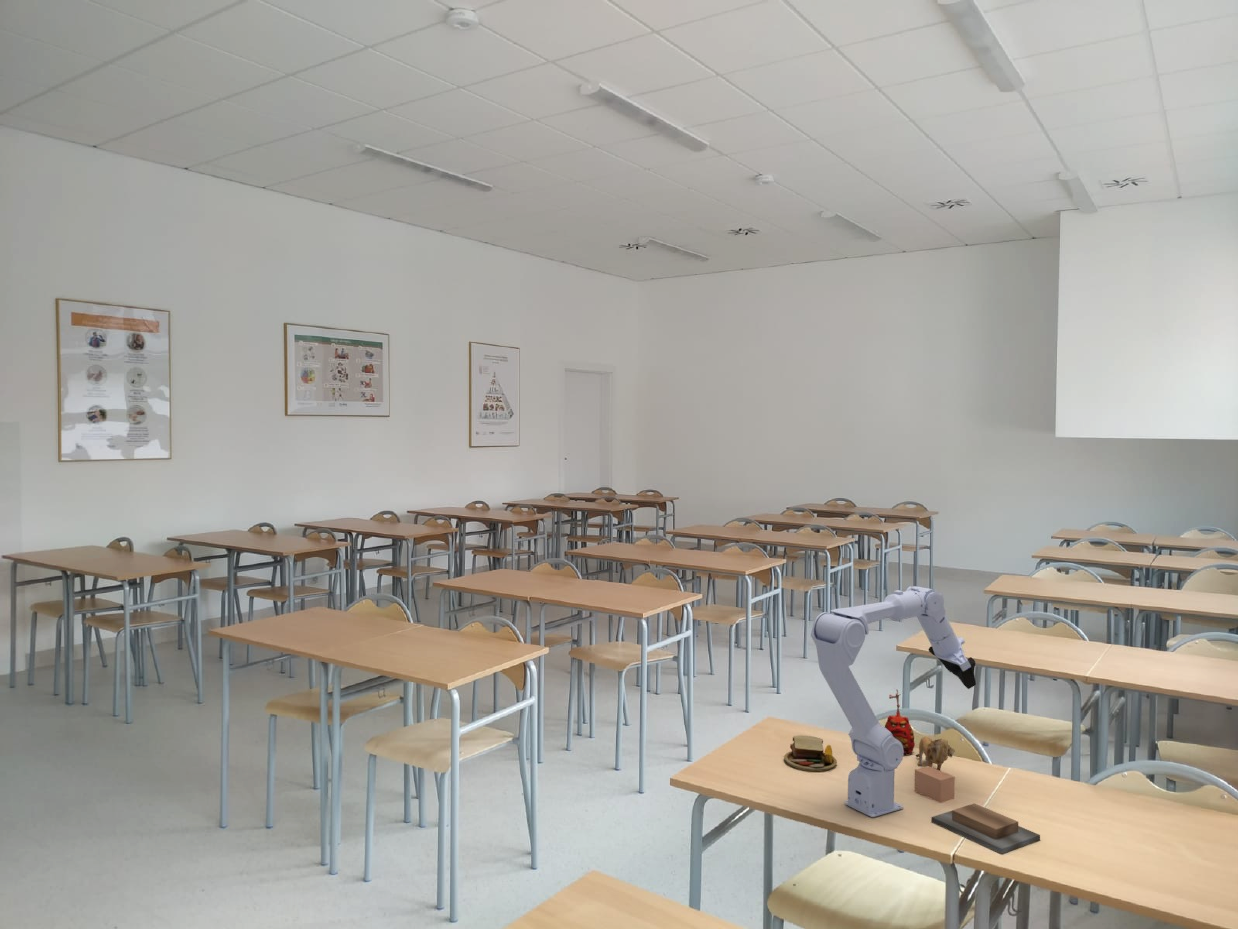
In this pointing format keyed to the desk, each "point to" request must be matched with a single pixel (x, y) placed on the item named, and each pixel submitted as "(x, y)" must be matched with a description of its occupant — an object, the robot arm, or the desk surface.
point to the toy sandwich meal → (810, 754)
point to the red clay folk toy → (901, 729)
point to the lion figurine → (934, 751)
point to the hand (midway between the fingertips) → (962, 677)
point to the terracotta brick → (934, 784)
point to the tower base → (987, 840)
